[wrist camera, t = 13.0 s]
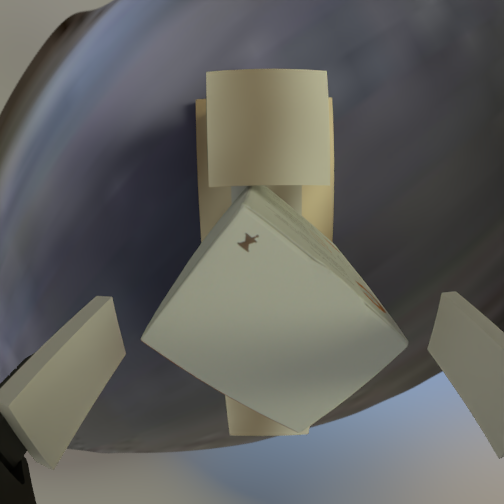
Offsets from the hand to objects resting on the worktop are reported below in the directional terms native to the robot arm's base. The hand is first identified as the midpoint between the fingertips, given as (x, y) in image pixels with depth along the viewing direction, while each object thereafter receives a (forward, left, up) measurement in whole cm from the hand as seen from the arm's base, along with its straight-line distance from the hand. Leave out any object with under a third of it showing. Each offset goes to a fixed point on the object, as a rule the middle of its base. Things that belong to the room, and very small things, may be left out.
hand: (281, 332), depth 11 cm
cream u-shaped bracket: (0, 0, -14) cm, 14 cm away
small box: (0, 0, -12) cm, 12 cm away
